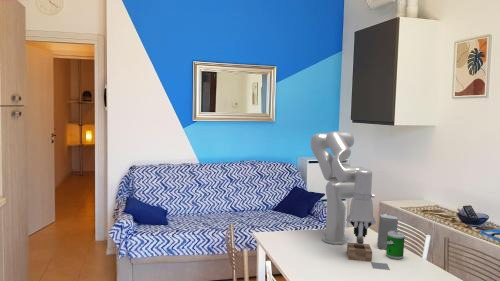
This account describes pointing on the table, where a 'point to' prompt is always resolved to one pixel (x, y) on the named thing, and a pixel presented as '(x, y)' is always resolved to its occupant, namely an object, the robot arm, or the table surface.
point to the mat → (380, 266)
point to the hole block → (359, 252)
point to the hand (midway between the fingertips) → (360, 235)
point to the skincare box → (385, 229)
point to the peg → (360, 232)
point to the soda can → (395, 244)
